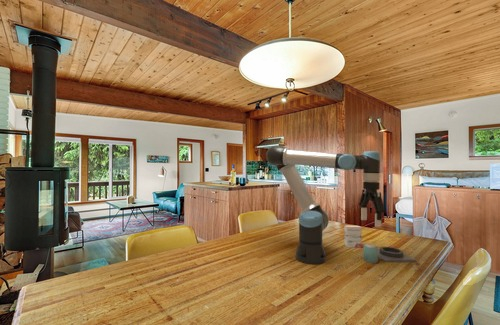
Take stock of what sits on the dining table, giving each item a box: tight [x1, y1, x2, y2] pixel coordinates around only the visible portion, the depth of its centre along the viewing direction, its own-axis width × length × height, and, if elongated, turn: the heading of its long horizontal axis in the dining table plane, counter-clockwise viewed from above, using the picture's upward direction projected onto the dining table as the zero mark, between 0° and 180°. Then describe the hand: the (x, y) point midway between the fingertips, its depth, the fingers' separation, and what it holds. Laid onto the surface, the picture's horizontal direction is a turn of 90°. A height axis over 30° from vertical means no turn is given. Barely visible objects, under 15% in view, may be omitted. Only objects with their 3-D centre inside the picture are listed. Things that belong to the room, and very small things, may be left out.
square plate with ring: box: [378, 246, 417, 263], centre depth 130 cm, size 16×16×3 cm
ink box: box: [344, 224, 363, 249], centre depth 145 cm, size 9×5×12 cm, turn 84°
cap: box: [363, 243, 379, 264], centre depth 124 cm, size 6×6×7 cm
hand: (370, 223), depth 125 cm, fingers open, 13 cm apart
